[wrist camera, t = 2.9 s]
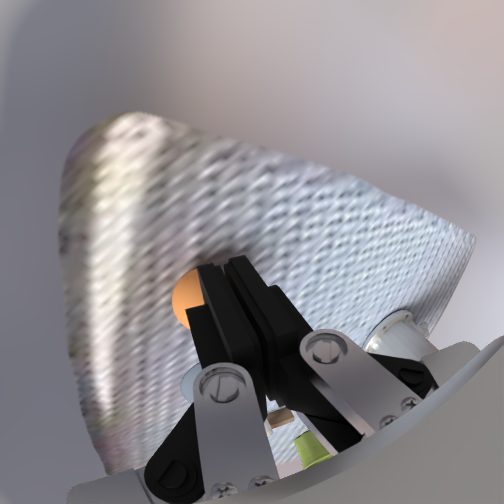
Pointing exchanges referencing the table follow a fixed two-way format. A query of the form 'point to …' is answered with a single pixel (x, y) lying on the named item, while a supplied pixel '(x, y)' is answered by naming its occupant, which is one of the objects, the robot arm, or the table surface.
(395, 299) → the table surface
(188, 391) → the pin spot mat
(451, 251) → the table surface
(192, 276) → the ball
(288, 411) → the bar
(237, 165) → the table surface
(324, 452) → the plant pot
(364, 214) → the table surface
